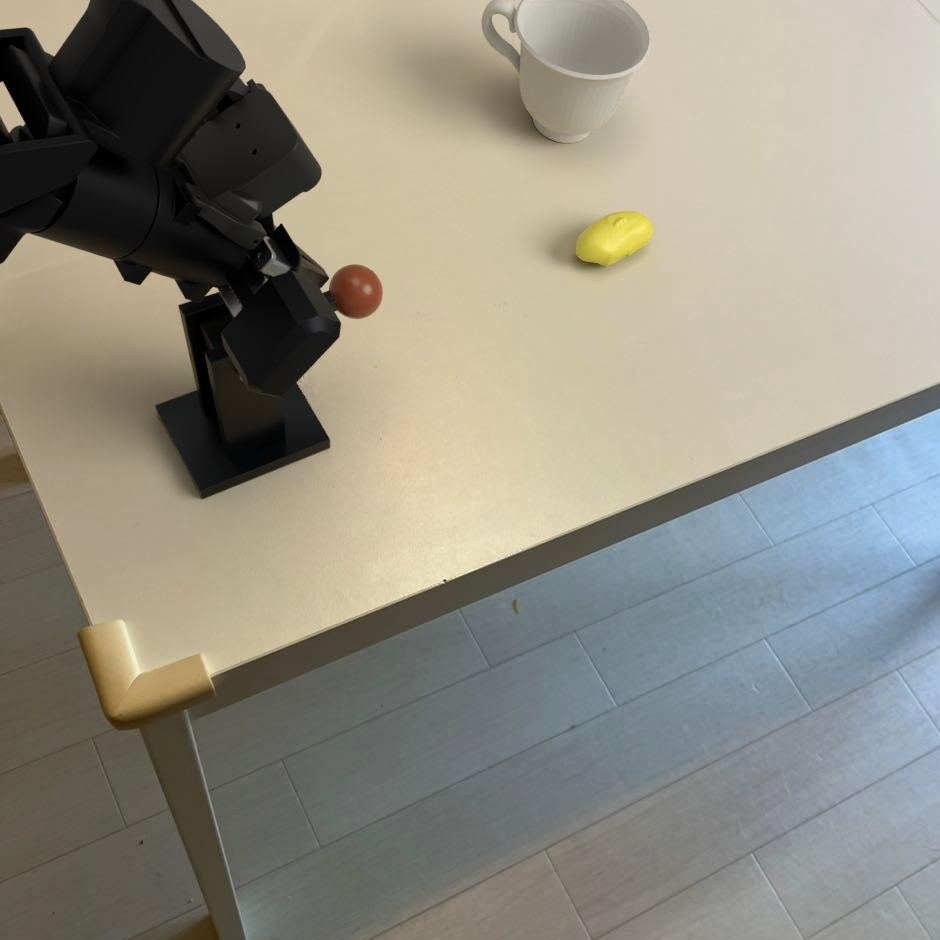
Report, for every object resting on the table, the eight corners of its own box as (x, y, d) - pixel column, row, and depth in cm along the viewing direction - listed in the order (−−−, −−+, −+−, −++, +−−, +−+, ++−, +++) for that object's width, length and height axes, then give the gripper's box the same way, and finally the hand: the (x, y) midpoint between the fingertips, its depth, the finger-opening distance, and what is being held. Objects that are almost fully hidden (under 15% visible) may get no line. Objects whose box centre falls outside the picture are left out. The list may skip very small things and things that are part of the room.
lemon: (658, 256, 91) (670, 225, 87) (583, 283, 88) (592, 251, 84) (633, 223, 92) (644, 190, 89) (558, 248, 89) (567, 215, 86)
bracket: (283, 367, 79) (273, 253, 68) (330, 448, 77) (328, 343, 65) (157, 414, 75) (124, 301, 64) (202, 499, 73) (176, 398, 62)
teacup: (491, 51, 99) (505, -46, 90) (636, 101, 99) (664, 9, 91) (452, 132, 93) (464, 36, 84) (607, 185, 94) (634, 95, 85)
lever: (368, 280, 72) (366, 245, 69) (392, 318, 71) (392, 284, 67) (202, 343, 68) (193, 309, 65) (225, 384, 67) (217, 352, 64)
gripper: (299, 219, 47) (480, 299, 60) (137, -38, 52) (336, 88, 66) (159, 379, 51) (358, 420, 64) (23, 125, 56) (233, 212, 70)
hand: (322, 279), depth 66 cm, fingers closed
